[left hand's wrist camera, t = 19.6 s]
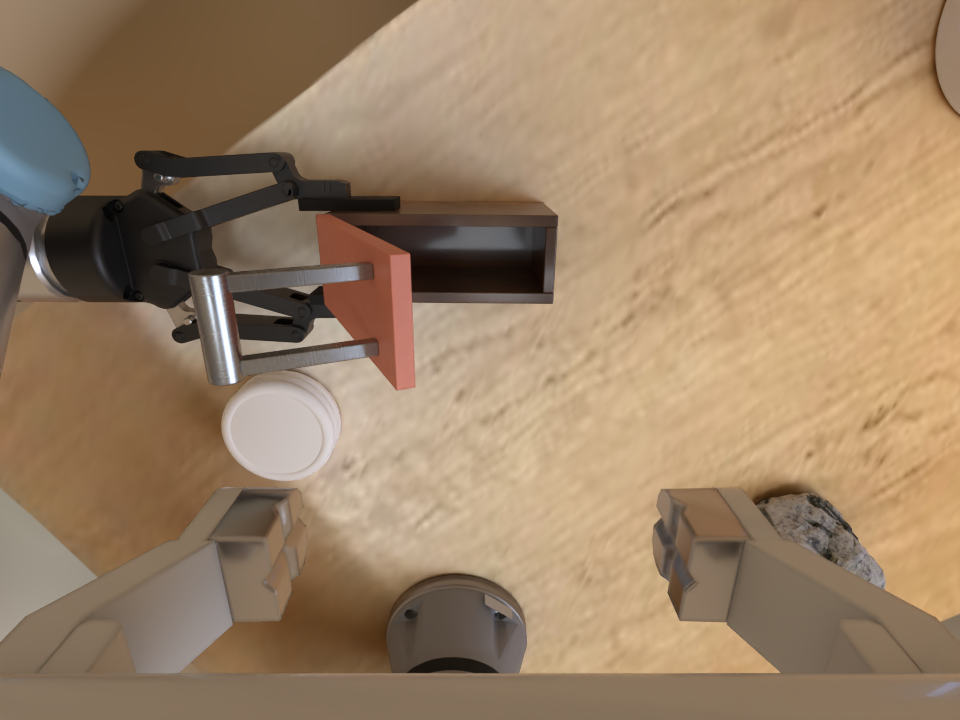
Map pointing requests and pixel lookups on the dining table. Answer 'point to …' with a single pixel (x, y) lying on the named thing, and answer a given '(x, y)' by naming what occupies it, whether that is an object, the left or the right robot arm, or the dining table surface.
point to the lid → (347, 294)
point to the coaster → (281, 425)
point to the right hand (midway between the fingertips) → (399, 250)
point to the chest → (470, 248)
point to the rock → (821, 532)
